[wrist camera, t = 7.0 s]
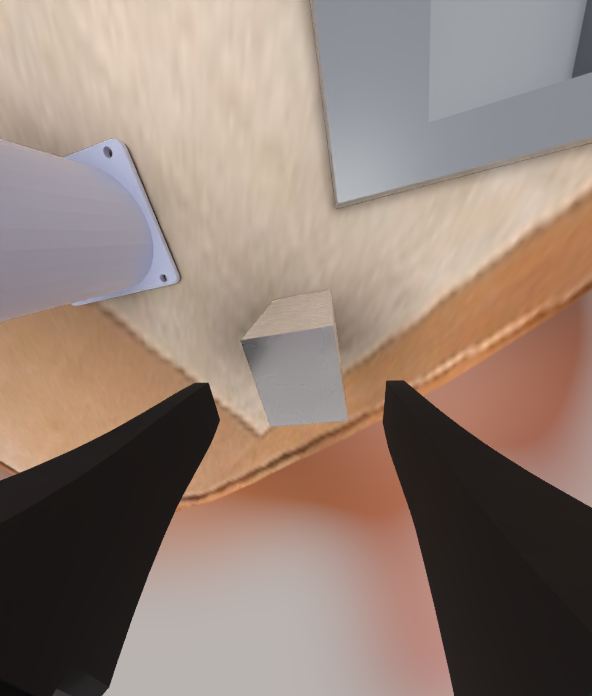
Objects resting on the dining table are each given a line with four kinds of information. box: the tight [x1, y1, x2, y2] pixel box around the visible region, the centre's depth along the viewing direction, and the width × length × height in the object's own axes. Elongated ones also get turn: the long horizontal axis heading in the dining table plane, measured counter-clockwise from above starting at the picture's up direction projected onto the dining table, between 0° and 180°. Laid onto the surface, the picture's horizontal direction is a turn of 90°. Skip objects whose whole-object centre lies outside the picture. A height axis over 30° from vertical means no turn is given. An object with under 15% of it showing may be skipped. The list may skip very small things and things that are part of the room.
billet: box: [241, 289, 348, 427], centre depth 14 cm, size 4×5×7 cm
